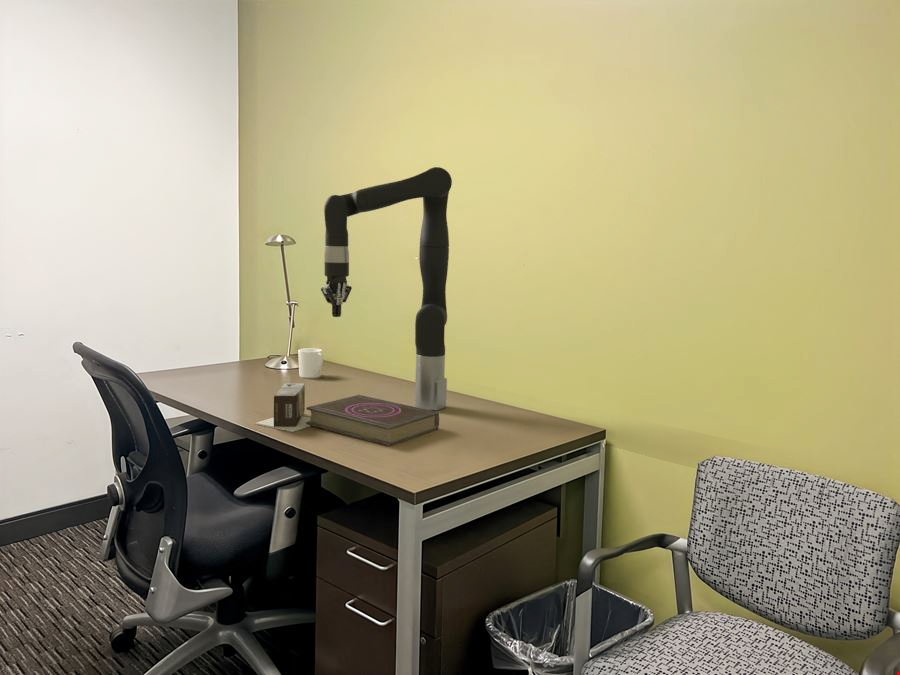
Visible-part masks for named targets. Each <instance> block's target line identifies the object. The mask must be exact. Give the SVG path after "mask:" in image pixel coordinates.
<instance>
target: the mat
mask: <svg viewBox="0 0 900 675" xmlns="http://www.w3.org/2000/svg"><path fill="white" fill-rule="evenodd" d="M310 420H311V414H308V413H304V414H303V415H302V417H301V419H300V420H299V422H298V424H297V425H296V426H289V427H274V416H273V417H270V418H268V419H264V420H261V421H257V422H255V425H256V424H257V426H261V427H262V426H263V427H267V428H271V429H277V430H282V431H285V430H286V432H290V433H295V432H297V431H301V430H303V429H307V428H309V427H313V426H312V425H308V424H306V422H308V421H310Z"/></svg>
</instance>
